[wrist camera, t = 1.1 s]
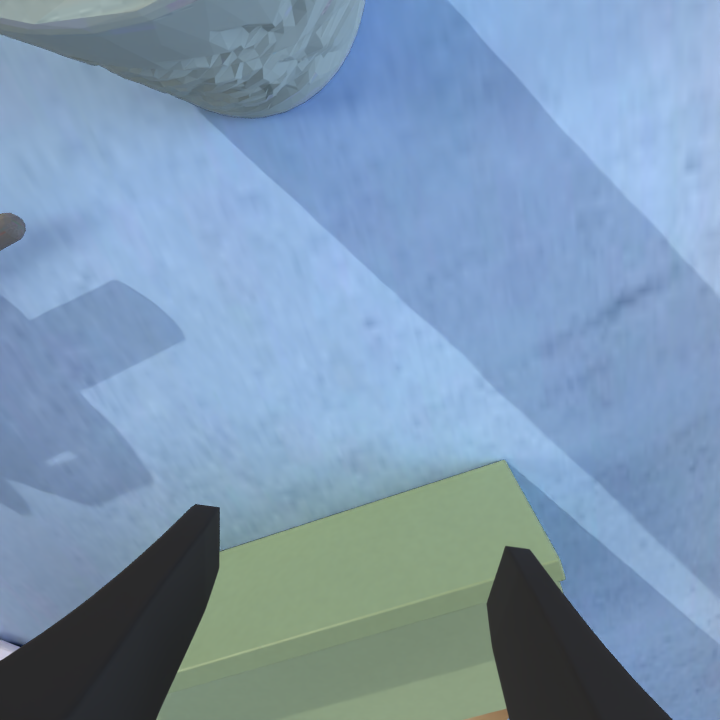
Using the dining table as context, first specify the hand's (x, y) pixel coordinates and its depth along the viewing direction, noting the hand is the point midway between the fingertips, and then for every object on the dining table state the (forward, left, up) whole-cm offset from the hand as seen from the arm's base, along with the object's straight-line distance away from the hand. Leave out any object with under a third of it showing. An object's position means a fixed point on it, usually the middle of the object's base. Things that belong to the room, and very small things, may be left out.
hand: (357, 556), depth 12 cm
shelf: (-10, -5, -10) cm, 15 cm away
